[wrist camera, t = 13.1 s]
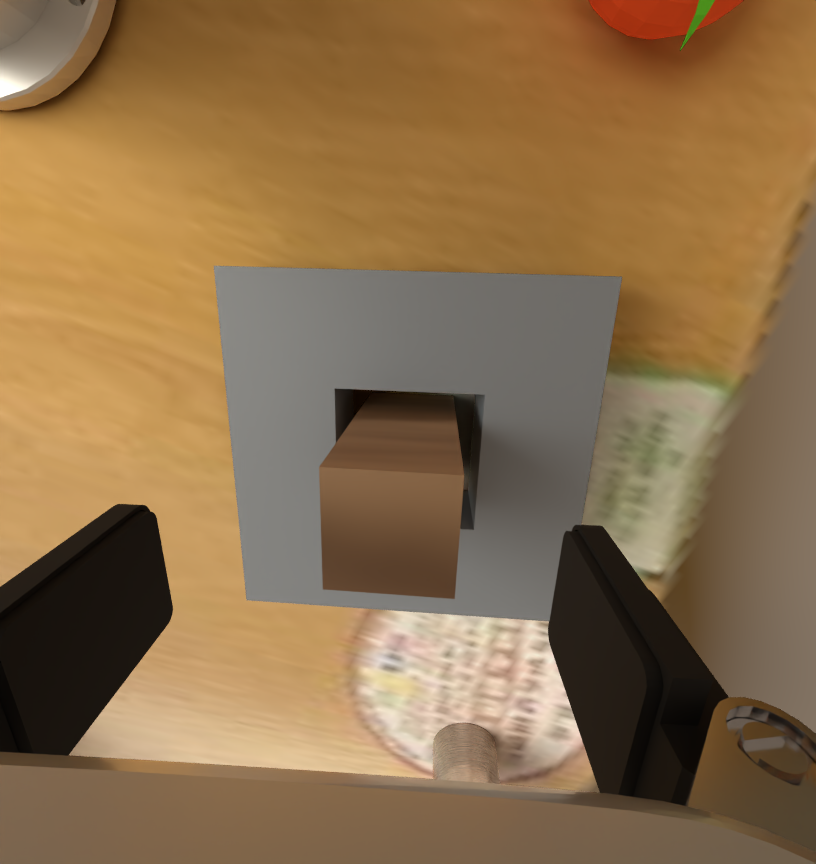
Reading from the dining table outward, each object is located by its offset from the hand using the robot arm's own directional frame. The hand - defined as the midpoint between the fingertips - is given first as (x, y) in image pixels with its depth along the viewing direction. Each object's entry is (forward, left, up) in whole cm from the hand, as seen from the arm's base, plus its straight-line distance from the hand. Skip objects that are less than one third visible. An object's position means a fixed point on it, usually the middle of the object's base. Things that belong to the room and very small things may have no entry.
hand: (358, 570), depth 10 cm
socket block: (+1, +1, -13) cm, 13 cm away
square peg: (+1, 0, -13) cm, 13 cm away
